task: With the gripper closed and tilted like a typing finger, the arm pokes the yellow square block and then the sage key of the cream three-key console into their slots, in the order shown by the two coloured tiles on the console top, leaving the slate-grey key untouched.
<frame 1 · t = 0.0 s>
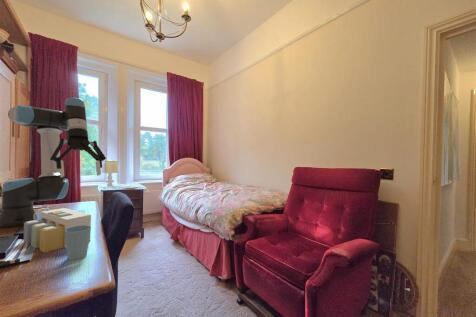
hand: (81, 175, 96), 28 cm above the table, tool tilted 20°, fingers open, 13 cm apart
console: (63, 240, 95), on the table
watch: (44, 231, 105), on the table
cup: (77, 257, 79), on the table
sage key: (46, 233, 89), point 5 cm above the table, slide at 0.0 cm
yellow square block: (55, 237, 86), point 5 cm above the table, slide at 0.0 cm
slate key: (38, 230, 93), point 5 cm above the table, slide at 0.0 cm
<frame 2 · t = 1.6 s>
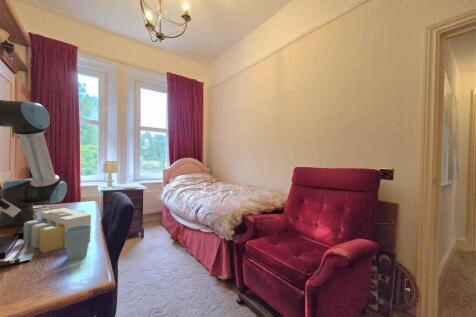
hand: (9, 210, 74), 17 cm above the table, tool tilted 45°, fingers open, 11 cm apart
nothing on the table moved.
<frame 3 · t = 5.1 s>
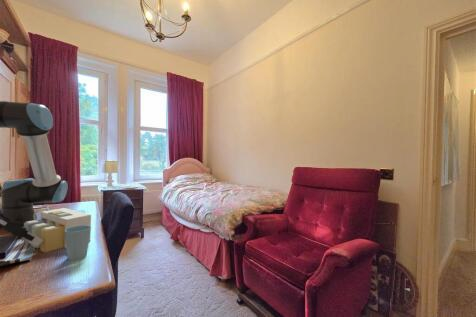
hand: (39, 242, 81), 4 cm above the table, tool tilted 45°, fingers closed
yellow square block: (55, 237, 86), point 5 cm above the table, slide at 0.2 cm, touching gripper
everything else where it was.
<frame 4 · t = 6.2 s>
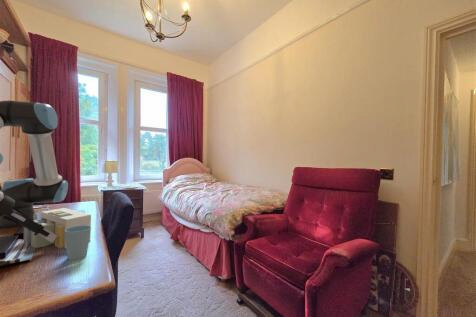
hand: (53, 238, 85), 4 cm above the table, tool tilted 45°, fingers closed
yellow square block: (69, 233, 90), point 5 cm above the table, slide at 4.8 cm, touching gripper
everything else where it was.
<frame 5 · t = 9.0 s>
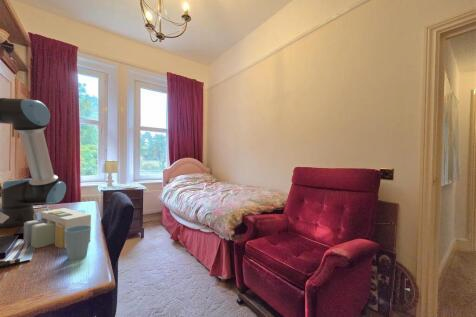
hand: (5, 219, 79), 13 cm above the table, tool tilted 45°, fingers closed
yellow square block: (69, 233, 90), point 5 cm above the table, slide at 4.9 cm
everything else where it was.
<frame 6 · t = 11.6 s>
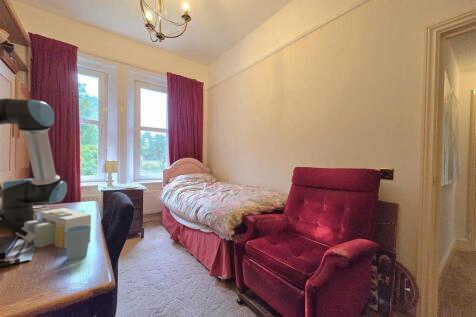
hand: (32, 238, 85), 4 cm above the table, tool tilted 45°, fingers closed
sage key: (49, 232, 90), point 5 cm above the table, slide at 0.9 cm, touching gripper
everything else where it was.
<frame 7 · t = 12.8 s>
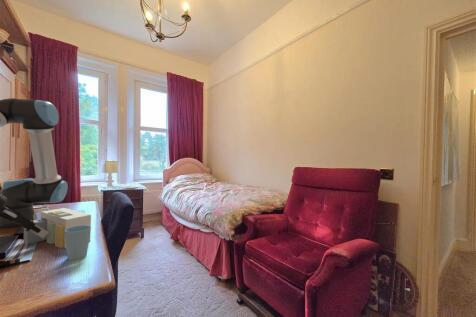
hand: (45, 235, 89), 4 cm above the table, tool tilted 45°, fingers closed
sage key: (60, 230, 94), point 5 cm above the table, slide at 4.9 cm, touching gripper
everything else where it was.
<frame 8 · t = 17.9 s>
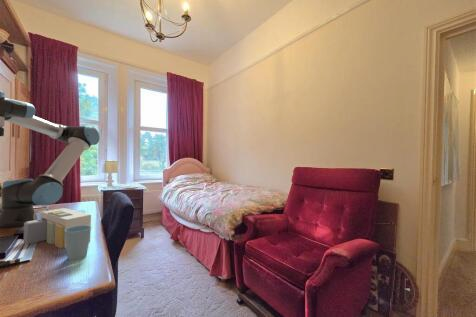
sage key: (60, 230, 94), point 5 cm above the table, slide at 4.9 cm
everything else where it was.
at the end: yellow square block slide at 4.9 cm; sage key slide at 4.9 cm; slate key slide at 0.0 cm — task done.
